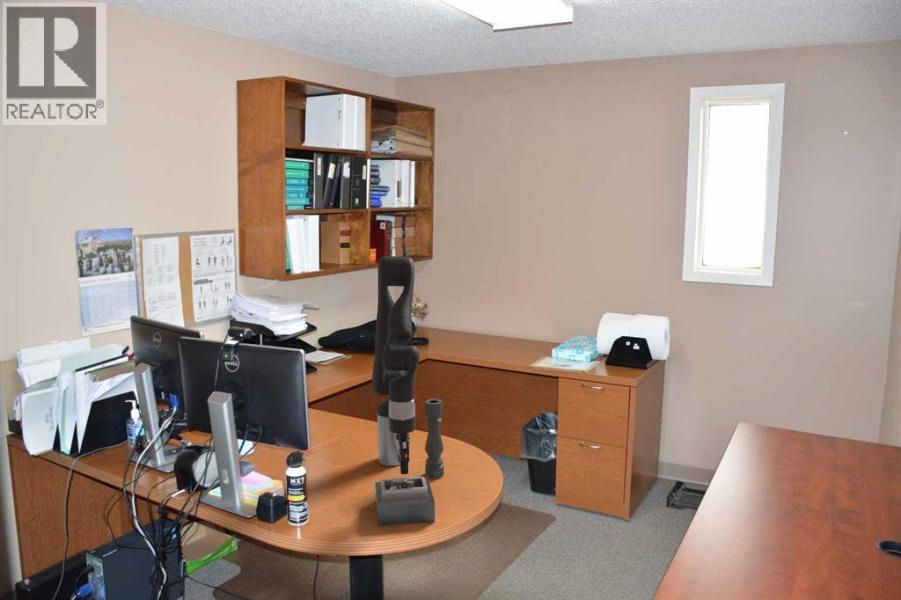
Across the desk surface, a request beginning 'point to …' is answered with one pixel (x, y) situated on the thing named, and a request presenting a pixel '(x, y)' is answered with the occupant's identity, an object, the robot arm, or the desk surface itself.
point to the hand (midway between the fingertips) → (403, 467)
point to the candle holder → (434, 439)
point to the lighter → (401, 484)
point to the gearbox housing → (404, 502)
